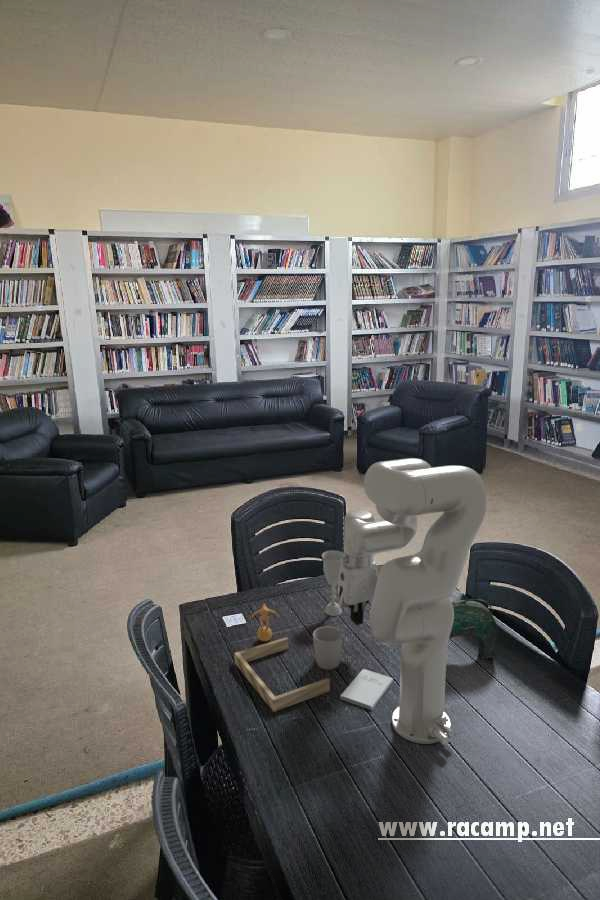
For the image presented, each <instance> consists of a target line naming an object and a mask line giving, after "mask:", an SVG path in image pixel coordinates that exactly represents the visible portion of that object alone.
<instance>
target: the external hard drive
mask: <svg viewBox="0 0 600 900" xmlns="http://www.w3.org/2000/svg"><path fill="white" fill-rule="evenodd" d="M393 682H394V678H393V677H390V676H387V675H384V674H382V673H378V672H374V671H371V670H369V669H364V668H363V669H362V670H361V671H360V672H359V673H358V674H357V676H355V678H354V679H353V680H352V681H351V682H350V684H349V685H348V686H347V687H346V688H345V689H344V690H343V692H342V693H341V694H340V696H339V699H340V700H341V701H344V702H347V703H350V704H352V705H356V706H359V707H361V708H364V709H366V710H370V711H373V710H374V709H375V707H376V706H377V704H379V702H380V700H381V699H382V697H384V695H385V693H386V692H387V691H388V689H389V688H390V687H391V685H392V684H393Z"/></svg>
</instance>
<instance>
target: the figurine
mask: <svg viewBox="0 0 600 900" xmlns="http://www.w3.org/2000/svg"><path fill="white" fill-rule="evenodd" d="M269 613H272V614H275V615H276V616H277V618H279V619H281V617H280V614H278V613H277V612H276V610H273V609H270V608H268V606H267V605H266V603H263V604H262V606H261V608H260V609H258V610H257V611H255V612H253V613H252V614H251V615H250V617H249V619H248V621H250V620H251V619H252V618H253V617H254V616H255V615H257V614H260V615H261V616H259V618H258V619H259V622H260V623H259V624H260V627H259V628H258V630H257V633H256V634H257V635H256V636H257V638H258V640H260V642H266V643H267V642H268V641H270V640H271V639H272V636H273V631H272V629H271V628H270V627H269V625H270V622H269V621H270V616H269V615H268V614H269ZM263 621H266V624H265V625H266V626H265V625H264V623H263ZM263 625H264V626H263Z"/></svg>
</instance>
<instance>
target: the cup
mask: <svg viewBox="0 0 600 900" xmlns="http://www.w3.org/2000/svg"><path fill="white" fill-rule="evenodd" d="M343 634H344V633H343V632H342V630H341V629H340V628H338V627H335V626H328V625H326V626H325V625H324V626H320V627H318V628H316V629H314V631H313V633H312V640H313V648H314V655H315V661H316V662H315V663H316V665H317V667H318V668H320V669H322V670H326V671H329V670H334V669H336V668H338V666H339V664H340V659H341V655H342V654H341V652H342V644H343V636H344V635H343Z"/></svg>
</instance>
